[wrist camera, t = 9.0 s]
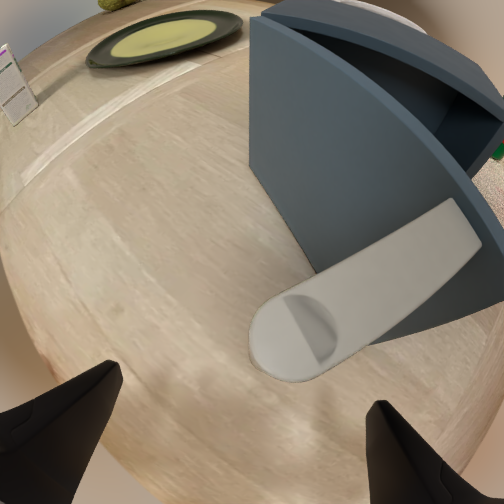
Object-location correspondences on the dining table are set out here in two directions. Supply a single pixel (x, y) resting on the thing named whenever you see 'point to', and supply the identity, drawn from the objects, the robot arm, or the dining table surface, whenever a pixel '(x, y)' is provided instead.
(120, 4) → the fruit
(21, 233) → the dining table surface
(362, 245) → the cabinet door
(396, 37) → the cabinet
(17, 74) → the syrup box
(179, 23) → the plate
